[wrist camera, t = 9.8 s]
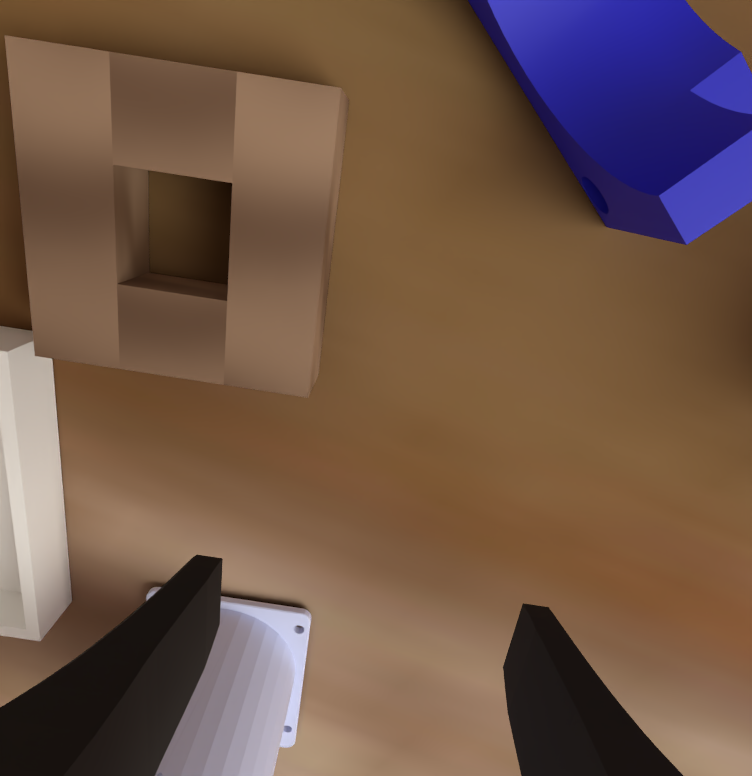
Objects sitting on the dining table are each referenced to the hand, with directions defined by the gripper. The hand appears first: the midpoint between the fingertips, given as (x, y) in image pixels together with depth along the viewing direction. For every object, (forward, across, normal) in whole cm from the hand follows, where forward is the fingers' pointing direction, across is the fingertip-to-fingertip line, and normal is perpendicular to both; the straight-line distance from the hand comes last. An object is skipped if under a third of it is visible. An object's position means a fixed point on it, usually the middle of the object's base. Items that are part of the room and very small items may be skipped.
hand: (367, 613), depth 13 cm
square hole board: (+10, +8, -7) cm, 15 cm away
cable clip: (+11, -4, -15) cm, 19 cm away
